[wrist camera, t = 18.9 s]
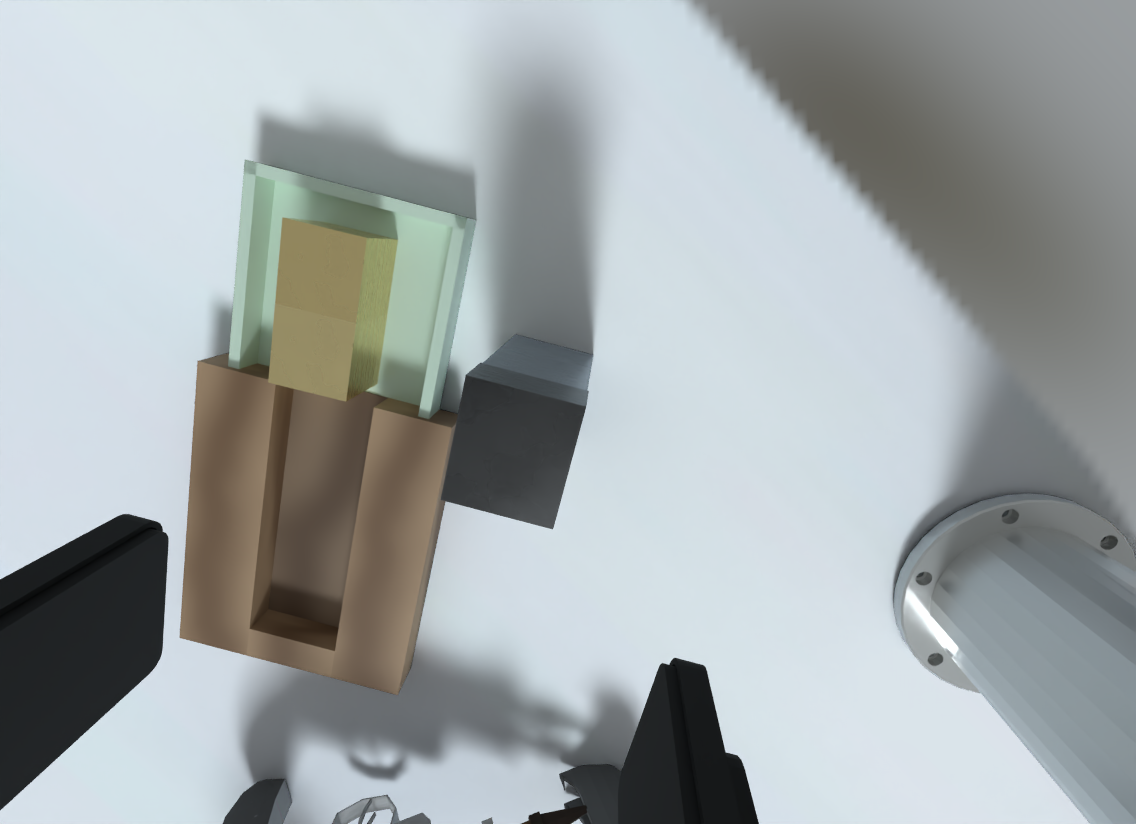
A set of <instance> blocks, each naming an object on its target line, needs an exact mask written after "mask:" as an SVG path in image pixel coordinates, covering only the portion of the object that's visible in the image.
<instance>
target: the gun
mask: <svg viewBox="0 0 1136 824" xmlns="http://www.w3.org/2000/svg"><path fill="white" fill-rule="evenodd" d="M559 775H560V779H561V782H562V784H563V787H564V791H565V784H564V781H566V782H567V783H569V784H570V785H572V786H573V787H574V788H575V790H576V791H577V792H578V794H579V795H580V798H577V799H574V800H572V801H570V802H567V803H565V804H564V807H565V809H563V810H558V811H553V812H549V813H544V814H540V813H539V812H537V813H534V814H532V815H529V818H528V819H529V821H526V822H524V823H522V824H571V823H573V822H574V821H576V820H577V819H580V821H581V822H582V823H583V824H618V787H619V780H620V776H621V771H619V770H618V769H616V768H615V767H613V766H611V765H608V764H601V765H583V766H580V767H576V768H573V769H570V770H568V771H565V772H563V773H560V774H559ZM291 803H292V800H291V797H290V794H289V790H288V787H287V784H286V781H285V779H266V780H262V781H259V782H257V783H256V784H254V785H253V786H252V787H250V788H249V789H248V790H246V791H245V792H244V793H243V794H242V795H241V796H240V798H239V799H238V800H237V802H236V803H235V804H234V806H233V807H232V809H231V810H230V811H229V813H228V814H227V815H226V817H225V819H224V822H223V824H283V822H284V819H285V817H286V815H287V812H288V810H289V808H290V805H291ZM385 809H390V810H391V811H392V813H393V817H392V820H391V824H431V821H430V819H429V818H428V817H426V816H425V815H424V814H423V813H420V814H417V815H415V816H412V817H410V818H407V819H404V820H402V821H399V817H398V813H397V809H396V807H395V805H394V804H393V802H392V801H391V800H390V798H389V797H388V795H383V796H377V797H372V798H366V799H362V800H360V801H358V802H356V803H355V804H353V805H351V806H349V807H347V808H346V809H344V810H342V811H340V812H338V813H337V814H336V817H335V819H334V821H333V823H332V824H347V823H349V822H351V821H353V820H354V819H356V818H358V817H360V818H359V822H358V824H362V822H363V819H364V816H365V814H366V813H368V812H373V811H379V810H385ZM375 816H376V813H375V812H374V813H373V815H372V817H371V818H370V820H369V821H368V823H367V824H371V823H372V822H373V820H374V818H375ZM482 824H493V821H492V818H489V819H487V820H484V821H482Z"/></svg>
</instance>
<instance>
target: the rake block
mask: <svg viewBox="0 0 1136 824" xmlns="http://www.w3.org/2000/svg"><path fill="white" fill-rule="evenodd" d="M592 360H593V355H592V354H589V353H585V352H581V351H577V350H573V349H569V348H566V347H562V346H558V345H554V344H550V343H547V342H543V341H539V340H535V339H531V338H527V337H524V336H520V335H514V336H513V337H512V338H511V339H510V340H509V341H507V342H506V343H505V344H504V345H503V346H502V347H501V348H499V349H498V350H497V351H496V352H495V353H494V354H493V355H491V356H490V357H489V358H488V359H487V360H486V361H484V362H483V363H480V364H478V365H477V366H476V367H475V368H474V369H472V370H471V371H470V372H469V373H468V374H467V375H466V377H465V382H464V387H463V392H462V397H461V402H460V407H459V412H458V417H457V421H456V426H455V431H454V436H453V441H452V446H451V451H450V456H449V461H448V466H447V471H446V475H445V480H444V485H443V490H442V495H441V500H443V501H447V502H451V503H455V504H459V505H462V506H466V507H470V508H474V509H478V510H481V511H485V512H489V513H493V514H497V515H500V516H504V517H508V518H512V519H516V520H519V521H523V522H527V523H531V524H535V525H539V526H542V527H546V528H550V529H553V527H554V524H555V520H556V516H557V512H558V509H559V505H560V501H561V498H562V494H563V490H564V487H565V483H566V479H567V475H568V472H569V468H570V464H571V461H572V457H573V453H574V450H575V446H576V442H577V439H578V435H579V431H580V427H581V424H582V420H583V416H584V413H585V409H586V404H587V398H588V392H589V391H587V390H588V384H589V378H590V372H591V366H592Z"/></svg>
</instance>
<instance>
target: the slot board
mask: <svg viewBox="0 0 1136 824" xmlns="http://www.w3.org/2000/svg"><path fill="white" fill-rule="evenodd" d="M228 360H229V354H227V353H226V354H223V355H219V356H215V357H211V358H208V359H204V360H200V361H198V365H197V380H196V396H195V411H194V426H193V441H192V456H191V472H190V487H189V502H188V517H187V533H186V548H185V563H184V578H183V593H182V609H181V624H180V638H183V639H186V640H190V641H194V642H198V643H202V644H205V645H209V646H213V647H217V648H221V649H224V650H228V651H232V652H236V653H240V654H243V655H247V656H251V657H255V658H259V659H262V660H266V661H270V662H274V663H278V664H282V665H285V666H289V667H293V668H297V669H301V670H304V671H308V672H312V673H316V674H320V675H323V676H327V677H331V678H335V679H339V680H342V681H346V682H350V683H354V684H358V685H361V686H365V687H369V688H373V689H377V690H380V691H384V692H388V693H392V694H396V695H398V693H399V691H400V689H401V687H402V685H403V683H404V681H405V679H406V677H407V675H408V673H409V671H410V668H411V664H412V659H413V655H414V650H415V645H416V640H417V635H418V631H419V626H420V621H421V616H422V611H423V606H424V602H425V597H426V592H427V587H428V582H429V578H430V573H431V568H432V563H433V558H434V553H435V549H436V544H437V539H438V534H439V529H440V525H441V520H442V515H443V510H444V505H445V501H443V500H441V495H442V490H443V485H444V480H445V475H446V471H447V466H448V461H449V456H450V451H451V446H452V441H453V436H454V431H455V426H456V421H457V417H458V414H456V413H452V412H448V411H444V410H440V409H439V410H438V411H437V412H436V413H435V414H434V415H433V416H432V417H431V418H430V419H426V418H423V417H419V416H418V414H419V409H420V406H418V405H414V404H411V403H407V402H403V401H399V400H395V399H392V398H388V397H384V396H380V395H376V394H373V393H369V392H365V391H364V392H362V393H360V394H359V395H357V396H355V397H353V398H352V399H350V400H348V401H346V402H345V401H341V400H337V399H333V398H329V397H325V396H321V395H317V394H313V393H309V392H305V391H301V390H297V389H292V388H288V387H284V386H280V385H276V384H272V383H268V379H269V368H270V366H266V365H262V364H258V363H257V364H254V365H250V366H247V367H244V368H241V369H236V368H232V367H229V366H228Z"/></svg>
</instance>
